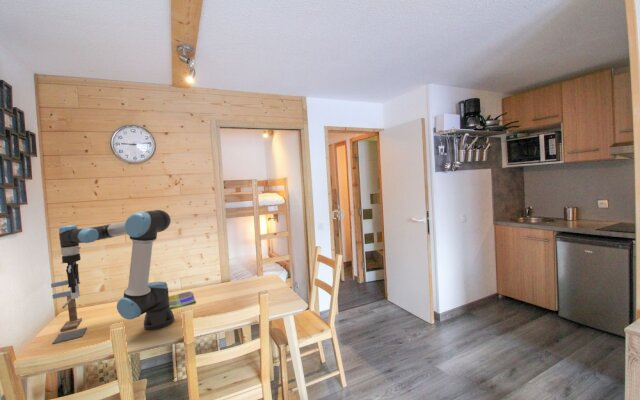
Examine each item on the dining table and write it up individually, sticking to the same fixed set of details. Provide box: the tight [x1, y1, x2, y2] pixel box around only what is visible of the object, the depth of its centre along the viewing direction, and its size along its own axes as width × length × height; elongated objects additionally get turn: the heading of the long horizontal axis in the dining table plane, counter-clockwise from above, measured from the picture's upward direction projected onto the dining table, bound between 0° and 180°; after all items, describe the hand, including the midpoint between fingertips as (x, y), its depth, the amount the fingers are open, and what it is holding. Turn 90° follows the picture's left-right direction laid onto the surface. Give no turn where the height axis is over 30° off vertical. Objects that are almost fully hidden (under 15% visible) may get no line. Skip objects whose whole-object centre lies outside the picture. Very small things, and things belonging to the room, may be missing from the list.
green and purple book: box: [169, 291, 196, 311], centre depth 198 cm, size 18×24×3 cm
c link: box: [50, 279, 78, 300], centre depth 157 cm, size 10×2×8 cm, turn 118°
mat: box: [52, 327, 88, 345], centre depth 158 cm, size 12×12×1 cm
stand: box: [59, 296, 83, 333], centre depth 169 cm, size 18×7×18 cm, turn 28°
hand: (75, 297), depth 159 cm, fingers closed on c link, 2 cm apart
